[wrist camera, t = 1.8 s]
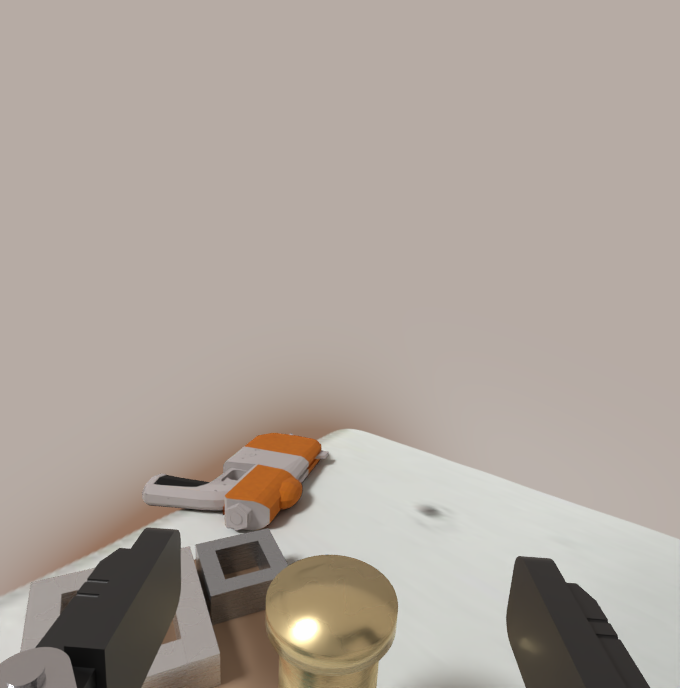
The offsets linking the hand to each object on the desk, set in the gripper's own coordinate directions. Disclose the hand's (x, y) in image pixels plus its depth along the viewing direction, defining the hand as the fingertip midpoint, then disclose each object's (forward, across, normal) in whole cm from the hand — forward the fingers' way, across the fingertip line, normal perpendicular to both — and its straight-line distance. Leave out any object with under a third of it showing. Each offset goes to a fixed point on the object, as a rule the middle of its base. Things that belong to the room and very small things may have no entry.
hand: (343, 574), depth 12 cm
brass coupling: (+11, 0, +22) cm, 24 cm away
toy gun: (+42, +11, +22) cm, 49 cm away
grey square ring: (+24, +7, +22) cm, 33 cm away
